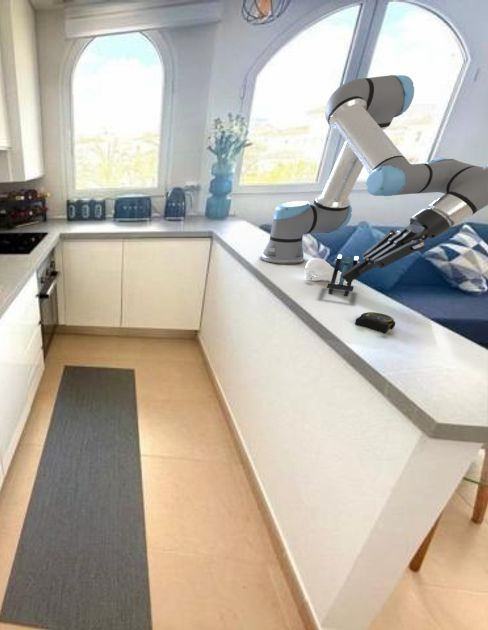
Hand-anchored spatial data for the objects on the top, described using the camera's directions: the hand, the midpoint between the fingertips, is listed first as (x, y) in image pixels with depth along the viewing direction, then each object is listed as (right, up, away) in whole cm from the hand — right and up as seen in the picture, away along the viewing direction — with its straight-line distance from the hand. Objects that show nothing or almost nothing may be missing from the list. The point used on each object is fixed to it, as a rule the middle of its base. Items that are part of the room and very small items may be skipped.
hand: (344, 279), depth 98 cm
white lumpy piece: (+10, +1, +21) cm, 24 cm away
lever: (+3, +1, +5) cm, 6 cm away
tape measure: (0, -15, -10) cm, 18 cm away
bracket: (+7, -4, +11) cm, 13 cm away
